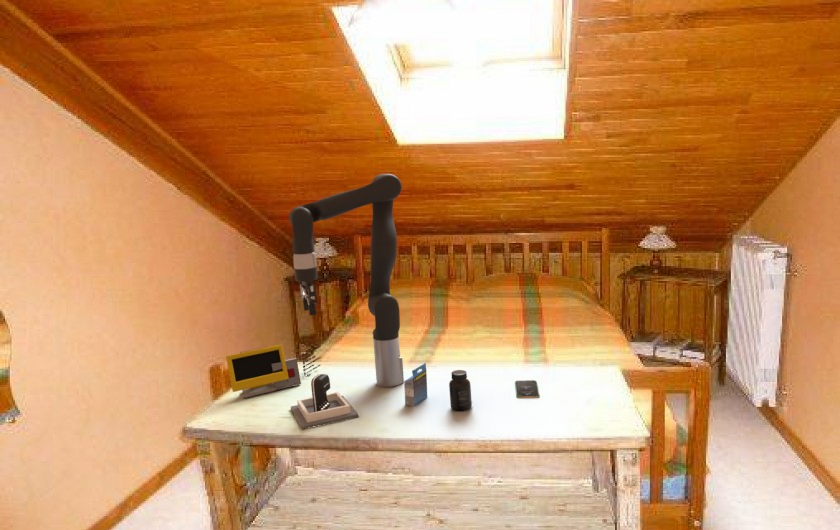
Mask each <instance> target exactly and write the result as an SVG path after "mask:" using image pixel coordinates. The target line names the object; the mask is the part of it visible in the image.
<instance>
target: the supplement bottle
mask: <svg viewBox="0 0 840 530" xmlns="http://www.w3.org/2000/svg"><path fill="white" fill-rule="evenodd" d="M450 375H451V380H450V381H449V383H448V387H449V401H450V403H449V404H450V408H451V410H452V411H454V412H461V413H462V412H463V413H464V412H467V411H470V409H472V406H473V405H472V404H473V402H472V388H471V387H472V386H471V382H470V380H469V379H468V374H467V370H463V369H456V370H453V371H451V374H450Z"/></svg>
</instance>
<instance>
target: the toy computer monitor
mask: <svg viewBox="0 0 840 530" xmlns="http://www.w3.org/2000/svg"><path fill="white" fill-rule="evenodd" d="M285 360H286V358H285V353H284V349H283V344H277V345H272V346H268V345H267V346H263V347H257V348H251V349H248V350H242V351H239V353H234V354H230V355H226V362H227V363H226V364H227V369H228V374H229V379H230V385H231V389H232V390H231V391H232V392H233V393H235V392H240V391H242V398H243V399H246V398H249V397H250V398H251V397H255V396H258V395H263V394H265V393H267V394H268V393H270V392H275V391H279V390H280V389H278V390H276V388H275V387H274V385H273V383H274V382H278V381H282V380H286V379H289V377H288V372H287V367H286V363H285ZM279 362H282V368H283V369H279V370H276V371H273V369H272V364H274V363H279Z"/></svg>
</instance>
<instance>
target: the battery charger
mask: <svg viewBox="0 0 840 530" xmlns="http://www.w3.org/2000/svg"><path fill="white" fill-rule="evenodd" d="M330 381H331V380H330V377H329V375H328V374H327V373H326V374H325V373H318V374H317V375H315V376H314V377H313V378H312V379H311V382H310V385H311V397H313V405H314V412H317V411H322V410H326V409H328V408H329V407H330V403H329V402H328V399H327V394H328V393H327V391H329V390H330V389H331V382H330Z"/></svg>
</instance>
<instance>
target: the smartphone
mask: <svg viewBox="0 0 840 530" xmlns="http://www.w3.org/2000/svg"><path fill="white" fill-rule="evenodd" d="M514 386H515V396H516V398H517V399H539V398H540V393H539V392H540V391H539V386H538V382H537V381H536V380H533V379H531V380H515V382H514Z"/></svg>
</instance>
